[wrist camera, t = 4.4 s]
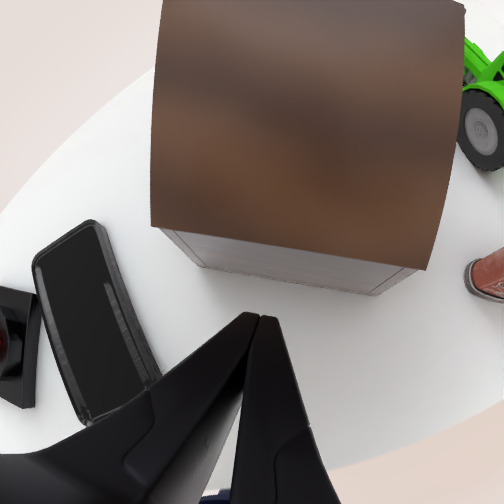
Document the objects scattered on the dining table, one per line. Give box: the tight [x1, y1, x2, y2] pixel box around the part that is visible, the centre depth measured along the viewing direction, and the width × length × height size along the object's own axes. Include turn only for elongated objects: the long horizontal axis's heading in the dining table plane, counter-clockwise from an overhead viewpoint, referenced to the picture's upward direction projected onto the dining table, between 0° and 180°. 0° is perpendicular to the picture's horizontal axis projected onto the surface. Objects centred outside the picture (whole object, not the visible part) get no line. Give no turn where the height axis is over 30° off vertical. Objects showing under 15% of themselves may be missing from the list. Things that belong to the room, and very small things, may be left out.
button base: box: [0, 286, 42, 409], centre depth 21 cm, size 10×7×4 cm
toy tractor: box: [457, 8, 504, 171], centre depth 20 cm, size 11×16×10 cm
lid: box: [150, 0, 465, 271], centre depth 12 cm, size 12×13×1 cm
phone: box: [31, 219, 162, 427], centre depth 22 cm, size 8×1×15 cm
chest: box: [159, 228, 418, 296], centre depth 20 cm, size 12×13×8 cm
